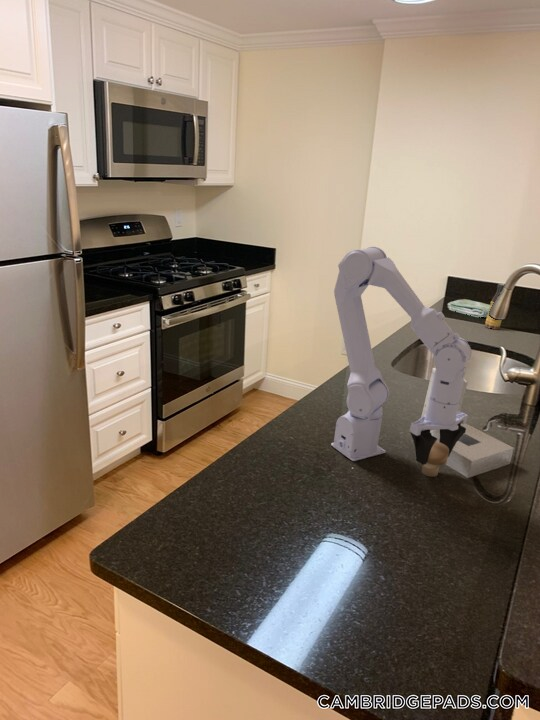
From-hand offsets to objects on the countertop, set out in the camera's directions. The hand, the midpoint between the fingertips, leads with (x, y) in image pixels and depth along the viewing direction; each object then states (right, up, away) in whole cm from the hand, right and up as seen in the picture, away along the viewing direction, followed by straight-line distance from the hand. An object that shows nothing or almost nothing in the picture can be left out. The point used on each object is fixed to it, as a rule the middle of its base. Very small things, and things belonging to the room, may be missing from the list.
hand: (432, 459), depth 110 cm
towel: (+68, +44, +154) cm, 174 cm away
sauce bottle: (+65, +35, +125) cm, 145 cm away
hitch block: (+10, -1, +9) cm, 14 cm away
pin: (0, -3, +1) cm, 3 cm away
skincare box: (+8, +3, +21) cm, 23 cm away
